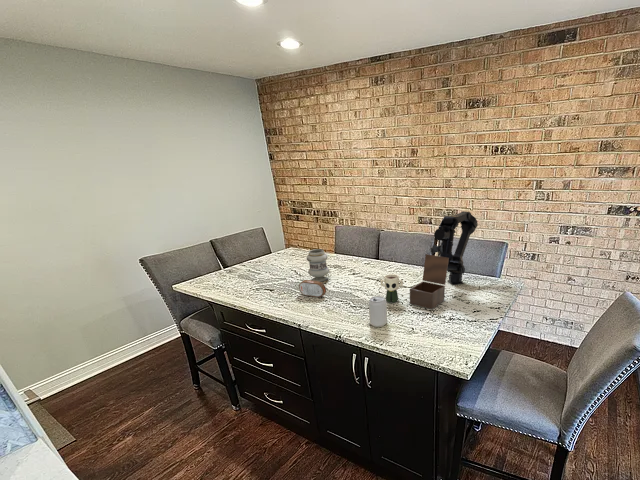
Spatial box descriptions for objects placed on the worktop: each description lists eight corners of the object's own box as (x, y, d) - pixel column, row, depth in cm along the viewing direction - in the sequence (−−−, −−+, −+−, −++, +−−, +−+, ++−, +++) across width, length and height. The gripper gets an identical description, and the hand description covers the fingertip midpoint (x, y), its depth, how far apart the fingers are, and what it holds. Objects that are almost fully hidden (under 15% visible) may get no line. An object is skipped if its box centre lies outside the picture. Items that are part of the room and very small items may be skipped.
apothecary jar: (305, 282, 197) (301, 252, 190) (317, 276, 207) (313, 247, 200) (322, 284, 192) (319, 254, 185) (334, 278, 203) (331, 249, 196)
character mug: (380, 303, 166) (379, 278, 161) (382, 297, 173) (381, 273, 168) (402, 304, 165) (401, 279, 160) (403, 298, 172) (403, 274, 167)
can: (369, 320, 149) (368, 295, 145) (386, 319, 150) (385, 294, 145) (369, 328, 142) (368, 302, 138) (387, 327, 143) (386, 301, 138)
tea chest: (432, 309, 159) (432, 293, 156) (409, 303, 166) (409, 288, 163) (444, 300, 169) (444, 285, 166) (422, 295, 175) (422, 281, 172)
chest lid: (448, 257, 162) (449, 257, 163) (425, 254, 169) (426, 254, 170) (444, 284, 165) (445, 284, 166) (422, 280, 172) (423, 280, 172)
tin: (327, 296, 176) (325, 281, 173) (324, 298, 173) (322, 283, 170) (302, 293, 181) (300, 278, 177) (299, 295, 178) (297, 280, 175)
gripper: (431, 238, 182) (427, 267, 186) (432, 239, 164) (428, 271, 167) (451, 241, 182) (447, 269, 185) (455, 242, 164) (450, 274, 167)
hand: (443, 271), depth 176 cm, fingers closed
